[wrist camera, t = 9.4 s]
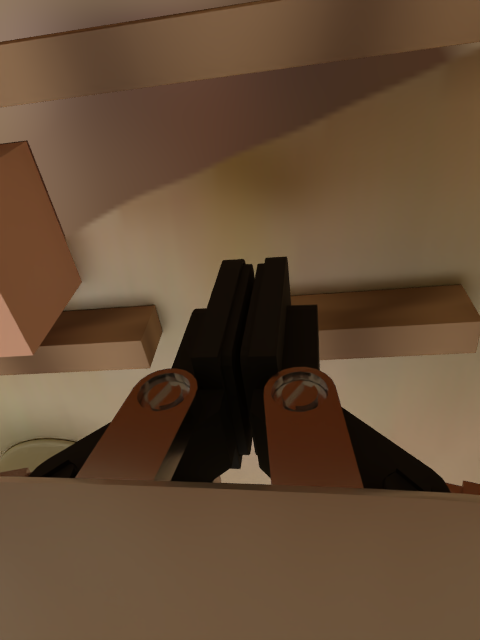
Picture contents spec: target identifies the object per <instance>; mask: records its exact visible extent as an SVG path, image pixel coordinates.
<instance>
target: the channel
mask: <svg viewBox="0 0 480 640" xmlns="http://www.w3.org/2000/svg"><path fill="white" fill-rule="evenodd" d="M474 42H480V0H261V1H255V2H249V3H243V4H236V5H230V6H224V7H218V8H211V9H205V10H198V11H192V12H186V13H179V14H173V15H167V16H161V17H154V18H148V19H142V20H136V21H129V22H124V23H117V24H110V25H104V26H98V27H91V28H85V29H79V30H73V31H66V32H60V33H54V34H47V35H41V36H36V37H29V38H23V39H16V40H10V41H3V42H0V107H7V106H14V105H22V104H29V103H37V102H44V101H51V100H58V99H66V98H73V97H80V96H87V95H95V94H102V93H109V92H117V91H124V90H131V89H138V88H146V87H153V86H160V85H168V84H174V83H182V82H190V81H197V80H204V79H211V78H219V77H226V76H232V75H241V74H248V73H255V72H262V71H270V70H276V69H284V68H292V67H299V66H305V65H314V64H320V63H328V62H335V61H343V60H349V59H357V58H365V57H372V56H379V55H386V54H393V53H401V52H408V51H415V50H423V49H430V48H437V47H445V46H452V45H459V44H467V43H474ZM313 304H317V306H318V329H319V360H331V359H352V358H373V357H394V356H415V355H436V354H457V353H476V350H477V345H478V341H479V336H480V316H479V314H478V312H477V310H476V309H475V307H474V305H473V304H472V302H471V300H470V298H469V297H468V295H467V293H466V292H465V290H464V288H463V286H462V285H448V286H433V287H418V288H404V289H389V290H374V291H359V292H344V293H330V294H315V295H300V296H291V305H313ZM161 334H162V328H161V325H160V321H159V318H158V315H157V311H156V308H155V305H152V306H137V307H123V308H108V309H93V310H78V311H63V312H62V313H61V314H60V316H59V317H58V319H57V320H56V322H55V323H54V325H53V326H52V328H51V329H50V331H49V332H48V334H47V335H46V337H45V338H44V340H43V341H42V343H41V344H40V346H39V348H38V349H37V351H36V352H35V354H34V355H31V356H13V357H0V375H17V374H38V373H59V372H80V371H101V370H122V369H143V368H150V367H151V364H152V361H153V358H154V355H155V352H156V349H157V346H158V343H159V340H160V337H161Z"/></svg>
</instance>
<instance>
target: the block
mask: <svg viewBox="0 0 480 640" xmlns="http://www.w3.org/2000/svg"><path fill="white" fill-rule="evenodd" d="M65 239H66V237H65V234H64V232H63V229H62V227H61V224H60V221H59V219H58V216H57V214H56V211H55V209H54V206H53V204H52V201H51V199H50V196H49V194H48V191H47V188H46V186H45V183H44V181H43V178H42V176H41V173H40V171H39V168H38V166H37V164H36V161H35V158H34V156H33V153H32V150H31V148H30V145H29V143H28V141H27V140H26V141H18V142H11V143H3V144H0V357H13V356H31V355H34V354H35V352H36V351H37V349H38V348H39V346H40V344H41V343H42V341H43V340H44V338H45V337H46V335H47V334H48V332H49V331H50V329H51V328H52V326H53V325H54V323H55V322H56V320H57V319H58V317H59V316H60V314H61V313H62V311H63V310H64V308H65V307H66V305H67V304H68V302H69V301H70V299H71V298H72V296H73V295H74V293H75V292H76V290H77V289H78V287H79V285H80V284H81V282H82V281H81V279H80V276H79V274H78V271H77V269H76V266H75V264H74V261H73V259H72V256H71V254H70V251H69V249H68V246H67V243H66V241H65Z"/></svg>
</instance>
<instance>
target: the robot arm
mask: <svg viewBox="0 0 480 640" xmlns="http://www.w3.org/2000/svg"><path fill="white" fill-rule="evenodd" d="M252 437H253V442H254V448H255V453H256V455H258V461H259V467H260V468H261V469H262V470H263V471H264V472H265V473H266V474H267V475H268V476H269V477H270V478H271V485H264V484H236V483H221V477H220V475H221V474H223V473H224V472H225V471H227V470H228V469H230V468H231V469H240V468H241V461H242V455H249V454H250V451H251V445H252ZM0 640H480V484H477V483H473V482H468V481H463V483H462V486H459V485H454V484H449V483H445V482H444V480H443V479H442V478H441V477H440V476H439V475H438V474H437V473H436V472H434V471H433V470H432V469H431V468H429V467H428V466H426V465H425V464H424V463H422V462H421V461H419V460H418V459H416V458H415V457H413V456H412V455H410V454H409V453H408V452H406V451H405V450H403V449H402V448H400V447H399V446H397V445H396V444H395V443H393V442H392V441H390V440H389V439H387V438H386V437H384V436H383V435H381V434H380V433H379V432H377V431H376V430H374V429H373V428H371V427H370V426H368V425H367V424H365V423H364V422H363V421H361V420H360V419H358V418H357V417H355V416H354V415H352V414H351V413H350V412H348V411H347V410H345V409H344V408H342V407H341V404H340V400H339V397H338V393H337V390H336V386H335V384H334V382H333V381H332V379H331V378H330V377H329V376H328V375H326V374H325V373H324V372H321V371H320V364H319V329H318V306H317V304H313V305H291V296H290V284H289V271H288V260H287V257H273V258H266V259H265V263H263V264H258V265H257V270H256V275H255V278H254V270H253V265H252V264H245V260H244V259H237V260H223V261H222V264H221V267H220V270H219V273H218V276H217V279H216V282H215V285H214V288H213V291H212V294H211V297H210V300H209V303H208V306H207V308H205V309H195V310H194V311H193V312H192V315H191V317H190V320H189V323H188V325H187V328H186V331H185V333H184V336H183V339H182V342H181V344H180V347H179V350H178V352H177V355H176V358H175V360H174V363H173V366H172V368H171V369H163V370H159V371H156V372H153V373H151V374H149V375H147V376H146V377H144V378H143V379H141V380H140V381H139V382H138V383H137V384H136V385H135V387H134V388H133V389H132V391H131V392H130V394H129V395H128V397H127V399H126V400H125V402H124V403H123V405H122V406H121V408H120V409H119V411H118V412H117V414H116V415H115V417H114V419H113V420H112V422H110V423H108V424H107V425H105V426H103V427H102V428H100V429H98V430H96V431H95V432H93V433H91V434H90V435H88V436H86V437H85V438H83V439H81V440H79V441H78V442H76V443H74V444H73V445H71V446H69V447H67V448H66V449H64V450H62V451H61V452H59V453H57V454H55V455H54V456H52V457H50V458H49V459H47V460H46V461H44V462H43V463H41V464H40V465H39V466H37V467H36V468H35V469H34V470H33V472H30V470H29V468H28V467H27V468H22V469H16V470H11V471H5V472H0Z"/></svg>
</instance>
